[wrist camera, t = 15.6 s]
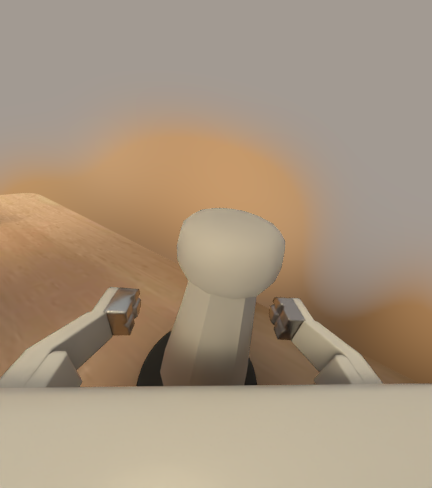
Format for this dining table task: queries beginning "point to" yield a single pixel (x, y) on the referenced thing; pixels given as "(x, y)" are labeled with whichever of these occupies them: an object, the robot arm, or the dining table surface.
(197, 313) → the salt shaker
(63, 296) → the dining table surface
